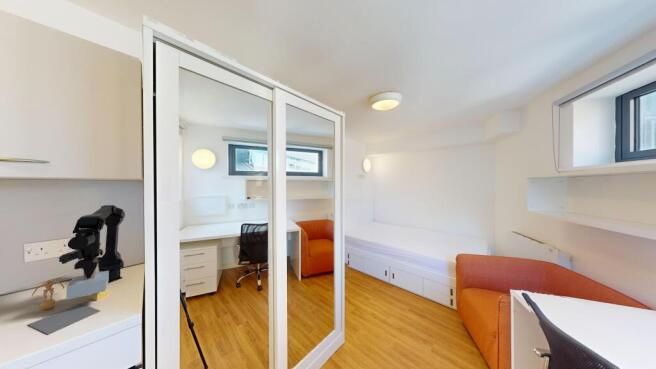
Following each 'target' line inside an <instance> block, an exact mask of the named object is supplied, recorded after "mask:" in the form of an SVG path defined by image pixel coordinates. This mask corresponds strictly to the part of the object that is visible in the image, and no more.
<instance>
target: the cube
mask: <svg viewBox="0 0 656 369" xmlns="http://www.w3.org/2000/svg"><path fill="white" fill-rule="evenodd" d="M107 297H109V287H107V288H106V291H103V292H98V293H94V294H91V300H93V301H96V302H98V301H100V300H103V299H105V298H107Z"/></svg>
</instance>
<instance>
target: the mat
mask: <svg viewBox="0 0 656 369" xmlns="http://www.w3.org/2000/svg"><path fill="white" fill-rule="evenodd" d="M99 312H101V310H99V309H97V308H95V307H91V306H90V305H89V306H88V305H86V304H83V303H78V304H77V305H73V306H71V307H68V308H66V309H63V310H60V311H59V312H56V313H54V314H53V313H52V314H51V315H49V316H45V317H43V318H41V319H38V320H35V321H33V322H31V323H29V324H28V323H27V326H28V327H30V328H32V329H33V330H37V331H38V332H41V333H43V334H45V335H47V336H48V335H50V334H53V333H55V332H57V331H60V330H62V329H64V328H66V327H68V326H70V325H73V324H75V323H77V322H80V321H82V320H84V319H87V318H88V317H90V316H93V315H96V313H99Z"/></svg>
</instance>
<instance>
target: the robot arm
mask: <svg viewBox="0 0 656 369" xmlns="http://www.w3.org/2000/svg"><path fill="white" fill-rule="evenodd" d="M125 217H126V212H125V211H124V209H123V208H120V207H117V206H116V205H114V204H110V205H109V204H107V205H101V207H100V208H98V210H96V211H94V212H92V214H85V215H82V216H80V217H79V218H78V219H77V220H76V223H75V226H74V227H73V230H72V234H74V235H75V236H73V237H72V238H70V239H69V240H68V242H67V247H68V248H69V249H71V250H73V251H69V252H67V253H64V254H61V255H60V256H59V257H58V262H59V263H61V264H62V265H65V264H67V263H68V262H72V261H74V260H77V261H76V262H75V264H74V266H73V270H80V269H81V270H83V274H84V273H85V275H86V278H91V276H92V274H93V272H94V270H95V269H97V267H98V271H99V272H104V271H109V282H108V284H109V283H113V282H115V281H118V280H120V279H123V276H121V270H122V269H124V267H125V262H124V259H123V258H122V255H121V253H120V252H119V251H118V244H119V243H118V242H119V232H120V231H119V228H120V225H121V224H122V222H123V221H124V218H125ZM104 226H106V236H105V248H104V249H101V244H102V243H101V231H102V230H103V228H104ZM99 272H98V273H99Z"/></svg>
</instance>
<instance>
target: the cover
mask: <svg viewBox="0 0 656 369" xmlns="http://www.w3.org/2000/svg"><path fill="white" fill-rule="evenodd" d="M96 269H97V268H96ZM96 269H95V270H94V272H93V274H92V276H91V278H86V275H85V273H84V272H83V275H77V276H74V277H72V279H71V280H70V282H69V283H68V284H67V286H66V298H65V300H66V301H67V300H72V299H76V298H77V299H78V298H81V297H85V296H89V295H92V294H94V293H98V292H103V291H106V288H108V284H109V283H108V282H109V271H104V272H103V271H102V272H96V271H97V270H96Z"/></svg>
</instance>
